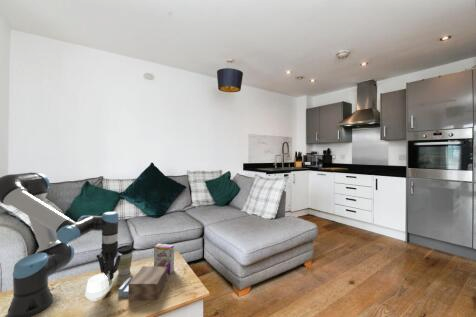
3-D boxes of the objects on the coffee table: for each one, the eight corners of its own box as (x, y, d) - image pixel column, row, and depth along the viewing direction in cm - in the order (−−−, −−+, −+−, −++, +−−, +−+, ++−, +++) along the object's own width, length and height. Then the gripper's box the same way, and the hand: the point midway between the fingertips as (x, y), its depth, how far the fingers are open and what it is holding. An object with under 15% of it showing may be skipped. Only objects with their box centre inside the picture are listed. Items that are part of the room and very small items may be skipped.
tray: (118, 297, 109) (118, 289, 109) (127, 285, 119) (127, 277, 119) (145, 297, 109) (145, 289, 109) (153, 285, 119) (153, 277, 119)
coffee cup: (125, 277, 125) (125, 252, 124) (111, 275, 127) (111, 250, 126) (136, 269, 134) (136, 245, 134) (123, 267, 136) (123, 244, 136)
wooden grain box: (128, 300, 106) (128, 283, 106) (142, 280, 122) (142, 266, 122) (156, 300, 106) (156, 283, 106) (167, 280, 122) (167, 266, 122)
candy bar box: (153, 272, 131) (153, 246, 130) (157, 268, 135) (158, 243, 135) (170, 274, 129) (170, 248, 128) (174, 270, 134) (174, 244, 133)
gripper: (93, 244, 110) (92, 289, 110) (118, 244, 110) (117, 289, 110) (102, 238, 117) (101, 280, 117) (125, 239, 117) (124, 281, 118)
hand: (109, 285), depth 114 cm, fingers closed
